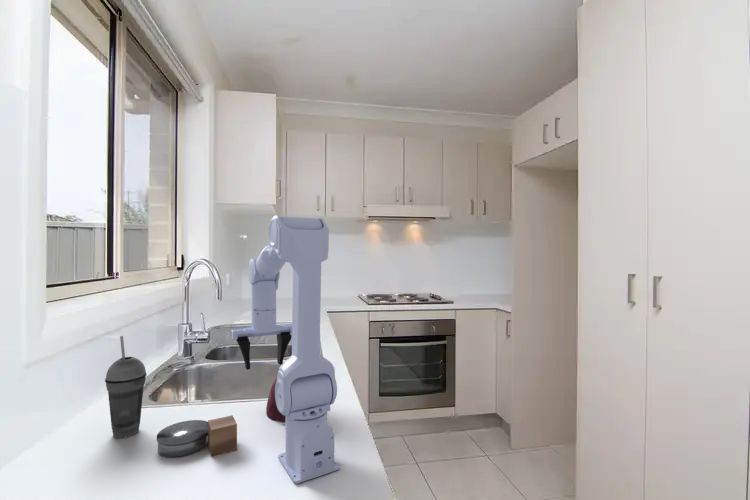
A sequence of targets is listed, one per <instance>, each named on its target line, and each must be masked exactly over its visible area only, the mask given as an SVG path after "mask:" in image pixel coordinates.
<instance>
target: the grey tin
mask: <svg viewBox="0 0 750 500" xmlns="http://www.w3.org/2000/svg"><path fill="white" fill-rule="evenodd" d="M156 442H157V454H158V455H159V456H160V457H162V458H167V459H178V458H184V457H189V456H191V455H192V456H193V455H194V454H196V453H199V452H201V451H203V450H205V449H206V447H207V448H208V420H203V419H202V420H201V419H191V420H184V421H179V422H176V423H172V424H171V425H167V426H166V427H164V428H162V429H161V430H160V431H159V432H158V433H157V434H156Z"/></svg>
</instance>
